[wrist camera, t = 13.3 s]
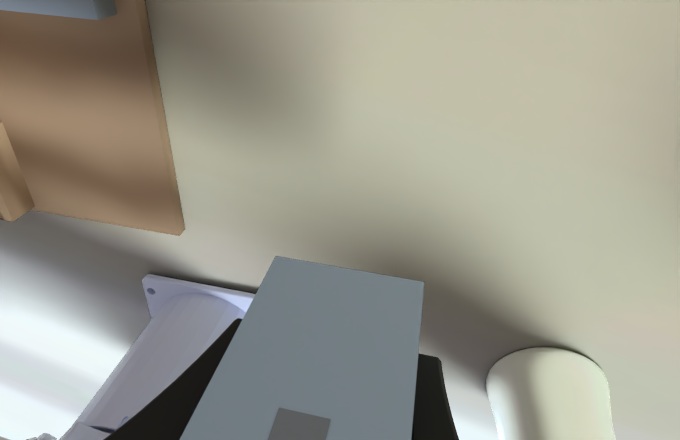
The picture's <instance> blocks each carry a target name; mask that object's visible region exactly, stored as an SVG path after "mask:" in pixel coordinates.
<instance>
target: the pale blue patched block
mask: <svg viewBox="0 0 680 440" xmlns="http://www.w3.org/2000/svg"><path fill="white" fill-rule="evenodd" d="M423 293H424V282H422V281H416V280H411V279H405V278H399V277H393V276H388V275H382V274H376V273H371V272H365V271H359V270H353V269H348V268H342V267H336V266H331V265H325V264H319V263H313V262H308V261H302V260H296V259H290V258H285V257H279V256H275V258H274V260H273V262H272V264H271V266H270V268H269V270H268V272H267V274H266V275H265V277H264V279H263V281H262V283H261V285H260V287H259V289H258V291H257V293H256V295H255V296H254V298H253V300H252V302H251V304H250V306H249V308H248V310H247V312H246V314H245V316H244V318H243V319H242V321H241V323H240V325H239V327H238V329H237V331H236V333H235V335H234V337H233V339H232V340H231V342H230V344H229V346H228V348H227V350H226V352H225V354H224V356H223V358H222V360H221V361H220V363H219V365H218V367H217V369H216V371H215V373H214V375H213V377H212V379H211V381H210V382H209V384H208V386H207V388H206V390H205V392H204V394H203V396H202V398H201V400H200V402H199V403H198V405H197V407H196V409H195V411H194V413H193V415H192V417H191V419H190V421H189V423H188V424H187V426H186V428H185V430H184V432H183V434H182V436H181V438H180V440H411V437H412V425H413V413H414V401H415V389H416V377H417V365H418V353H419V341H420V329H421V317H422V305H423Z"/></svg>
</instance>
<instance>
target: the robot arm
mask: <svg viewBox="0 0 680 440" xmlns="http://www.w3.org/2000/svg"><path fill="white" fill-rule="evenodd" d="M142 285H143V289H144V292H145V296H146V300H147V304H148V308H149V311H150V315H151V319H152V320H151V321H150V322H149V324H148V325H147V326H146V328H145V329H144V330H143V332H142V333H141V334H140V336H139V337H138V338H137V340H136V341H135V342H134V344H133V345H132V346H131V348H130V349H129V350H128V352H127V353H126V354H125V356H124V357H123V358H122V360H121V361H120V362H119V364H118V365H117V366H116V368H115V369H114V370H113V372H112V373H111V374H110V376H109V377H108V378H107V380H106V381H105V383H104V384H103V385H102V387H101V388H100V389H99V391H98V392H97V393H96V395H95V396H94V397H93V399H92V400H91V401H90V403H89V404H88V405H87V407H86V408H85V409H84V411H83V412H82V413H81V415H80V416H79V417H78V419H77V420H76V421H75V423H74V424H73V425H72V427H71V428H70V429H69V430H68V431H67V432H66V433H65V434H64V435H63V436H62V437H61V438H60V439H59V440H180V438H181V436H182V434H183V432H184V430H185V428H186V426H187V424H188V423H189V421H190V419H191V417H192V415H193V413H194V411H195V409H196V407H197V405H198V403H199V402H200V400H201V398H202V396H203V394H204V392H205V390H206V388H207V386H208V384H209V382H210V381H211V379H212V377H213V375H214V373H215V371H216V369H217V367H218V365H219V363H220V361H221V360H222V358H223V356H224V354H225V352H226V350H227V348H228V346H229V344H230V342H231V340H232V339H233V337H234V335H235V333H236V331H237V329H238V327H239V325H240V323H241V321H242V319H243V318H244V316H245V314H246V312H247V310H248V308H249V306H250V304H251V302H252V300H253V298H254V296H255V295H256V294H252V293H247V292H242V291H237V290H231V289H226V288H221V287H215V286H210V285H205V284H199V283H194V282H189V281H184V280H178V279H173V278H168V277H162V276H157V275H152V274H148V275H146V276H145V277H144V278H143V280H142ZM56 439H57V438H55V437H53V436H51V435H50V434H48V433H44V434H42V435H40V436H39V437H38V438H36V437H34V438H31V439H27V440H56ZM411 440H459V439H458V435H457V432H456V429H455V425H454V422H453V418H452V414H451V410H450V406H449V402H448V398H447V394H446V389H445V384H444V378H443V372H442V364H441V361H440V359H439V358H438V357H433V356H428V355H423V354H418V365H417V377H416V389H415V401H414V413H413V425H412V437H411Z"/></svg>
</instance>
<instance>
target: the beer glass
mask: <svg viewBox="0 0 680 440" xmlns="http://www.w3.org/2000/svg"><path fill="white" fill-rule="evenodd" d="M486 389H487V394H488V398H489V402H490V405H491V409H492V412H493V416H494V419H495V423H496V428H497V433H498V440H616V437H615V433H614V429H613V423H612V417H611V404H610V392H609V385H608V381H607V378H606V376H605V375H604V373H603V371H602V370H601V369H600V368H599V367H598V366H597V365H596V364H595V363H594V362H593V361H591V360H590V359H588V358H587V357H585V356H583V355H580V354H578V353H575V352H572V351H569V350H565V349H560V348H551V347H537V348H529V349H524V350H520V351H516V352H514V353H511V354H509V355H507V356H505V357H503V358H502V359H500V360H499V361H497V362H496V363H495V364H494V365H493V366H492V368H491V369H490V371H489V373H488V375H487V379H486Z"/></svg>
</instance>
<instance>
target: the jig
mask: <svg viewBox="0 0 680 440" xmlns="http://www.w3.org/2000/svg"><path fill="white" fill-rule="evenodd" d="M29 210H34V211H40V212H45V213H51V214H57V215H63V216H68V217H74V218H80V219H86V220H91V221H97V222H103V223H109V224H114V225H120V226H126V227H132V228H137V229H143V230H149V231H155V232H160V233H166V234H172V235H178V236H180V235H181V233H182V232H183V231H184V230H185V226H184V220H183V214H182V209H181V203H180V197H179V192H178V186H177V180H176V175H175V169H174V163H173V158H172V152H171V146H170V141H169V135H168V129H167V124H166V118H165V112H164V107H163V101H162V95H161V90H160V84H159V78H158V73H157V67H156V61H155V56H154V50H153V44H152V39H151V33H150V28H149V22H148V16H147V11H146V5H145V0H0V219H1V220H6V221H12V222H14V221H15V220H16V219H18V218H19V217H21V216H22V215H24V214H25V213H27V212H28V211H29Z"/></svg>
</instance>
